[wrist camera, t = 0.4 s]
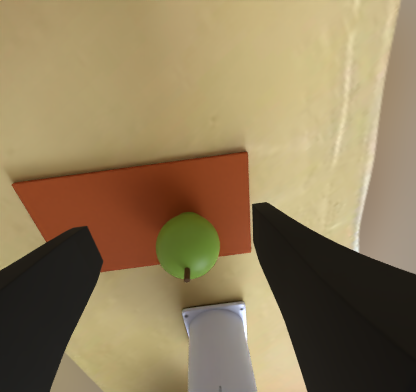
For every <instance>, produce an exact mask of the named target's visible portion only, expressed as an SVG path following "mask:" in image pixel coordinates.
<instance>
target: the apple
mask: <svg viewBox="0 0 416 392" xmlns="http://www.w3.org/2000/svg"><path fill="white" fill-rule="evenodd" d="M219 251H220V241H219V236H218V234H217V231H216V229H215V228H214V226H213V225H212V224H211V223H210V222H209V221H208V220H206V219H205V218H203V217H201V216H200V215H198V214H196V213H193V212H184V213H181V214H180V215H178V216H176V217H174V218H172V219H170V220H169V221H168V222H167V223H166V224H165V225H164V226H163V227H162V229H161V230H160V232H159V234H158V237H157V241H156V254H157V258H158V260H159V262H160V264H161V266H162V267H163V268H164V270H165V271H166V272H168V273H169V274H170V275H172V276H174V277H176V278H180V279H184V282H186V283H187V282H189V281H190V279H195V278H198V277H200V276H202V275H204V274H206V273H207V272H208V271H209V270H210V269H211V268H212V267H213V266H214V264H215V263H216V261H217V258H218V255H219Z"/></svg>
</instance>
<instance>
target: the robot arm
mask: <svg viewBox="0 0 416 392" xmlns="http://www.w3.org/2000/svg"><path fill="white" fill-rule="evenodd" d="M252 214H253V242H254V246H255V249H256V253H257V256H258V259H259V262H260V265H261V267H262V269H263V272H264V274H265V276H266V279H267V281H268V283H269V285H270V288H271V290H272V292H273V295H274V297H275V299H276V301H277V304H278V306H279V308H280V311H281V313H282V316H283V318H284V321H285V324H286V327H287V330H288V333H289V336H290V339H291V342H292V345H293V348H294V351H295V354H296V357H297V360H298V363H299V366H300V369H301V372H302V376H303V379H304V382H305V385H306V388H307V392H416V274H413V273H410V272H407V271H404V270H401V269H399V268H396V267H393V266H391V265H388V264H385V263H383V262H380V261H378V260H375V259H372V258H370V257H367V256H365V255H362V254H360V253H358V252H356V251H353V250H351V249H349V248H347V247H344V246H342V245H340V244H338V243H336V242H334V241H332V240H330V239H328V238H326V237H324V236H322V235H320V234H318V233H316V232H315V231H313V230H311V229H309V228H307V227H306V226H304V225H302V224H300V223H299V222H297V221H296V220H294V219H292V218H291V217H289V216H287V215H286V214H284V213H283V212H281V211H280V210H278V209H277V208H275V207H274V206H272V205H270V204H269V203H267V202H264V203H256V204H252ZM102 265H103V259H102V257H101V254H100V252H99V250H98V248H97V246H96V244H95V241H94V239H93V237H92V235H91V233H90V231H89V229H88V226H82V227H74V228H71V229H69V230H67V231H65V232H64V233H62V234H60V235H58V236H57V237H55V238H53V239H52V240H50V241H48V242H47V243H45V244H43V245H42V246H40V247H38V248H37V249H35V250H34V251H32V252H30V253H29V254H27V255H26V256H24V257H22V258H21V259H19V260H17V261H16V262H14V263H12V264H11V265H9V266H7V267H6V268H4V269H2V270H1V271H0V392H50V389H51V386H52V383H53V380H54V378H55V375H56V372H57V370H58V367H59V364H60V362H61V359H62V356H63V354H64V351H65V349H66V347H67V344H68V342H69V340H70V338H71V335H72V333H73V331H74V329H75V327H76V325H77V323H78V321H79V319H80V317H81V315H82V313H83V311H84V309H85V307H86V305H87V302H88V300H89V298H90V296H91V294H92V292H93V290H94V288H95V285H96V283H97V280H98V277H99V275H100V271H101V268H102ZM182 316H183V319H184V323H185V326H186V330H187V334H188V337H189V362H188V392H257V387H256V382H255V377H254V372H253V367H252V363H251V358H250V353H249V348H248V343H247V327H246V310H245V303H244V302H242V301H240V302H232V303H224V304H217V305H209V306H201V307H194V308H186V309H183V310H182Z"/></svg>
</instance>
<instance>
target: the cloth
mask: <svg viewBox="0 0 416 392" xmlns="http://www.w3.org/2000/svg"><path fill="white" fill-rule="evenodd" d="M12 186H13V188H14V190H15V191H16V193H17V194H18V196H19V198H20V199H21V201H22V203H23V204H24V206H25V208H26V209H27V211H28V213H29V214H30V216H31V218H32V219H33V221H34V223H35V224H36V226H37V227H38V229H39V231H40V232H41V234H42V236H43V237H44V239H45V241H46V242H48V241H50V240H52V239H53V238H55V237H57V236H58V235H60V234H62V233H64V232H65V231H67V230H69V229H71V228H74V227H82V226H88V229H89V231H90V233H91V235H92V237H93V239H94V241H95V244H96V246H97V248H98V250H99V252H100V254H101V257H102V259H103V265H102V268H101V271H100V272H106V271H113V270H121V269H128V268H136V267H144V266H151V265H159V264H160V262H159V260H158V258H157V254H156V241H157V237H158V234H159V232H160V230H161V229H162V227H163V226H164V225H165V224H166V223H167V222H168V221H169V220H170V219H172V218H174V217H176V216H178V215H180V214H181V213H184V212H193V213H196V214H198V215H200V216H201V217H203V218H205V219H206V220H208V221H209V222H210V223H211V224H212V225H213V226H214V228H215V229H216V231H217V234H218V236H219V241H220V251H219V255H218V257H220V256H227V255H235V254H242V253H250V252H251V235H250V205H249V174H248V153H247V152H240V153H233V154H225V155H218V156H210V157H203V158H195V159H188V160H180V161H173V162H165V163H158V164H151V165H143V166H136V167H128V168H121V169H113V170H106V171H98V172H91V173H83V174H76V175H68V176H61V177H53V178H46V179H38V180H31V181H23V182H16V183H13V184H12Z"/></svg>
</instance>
